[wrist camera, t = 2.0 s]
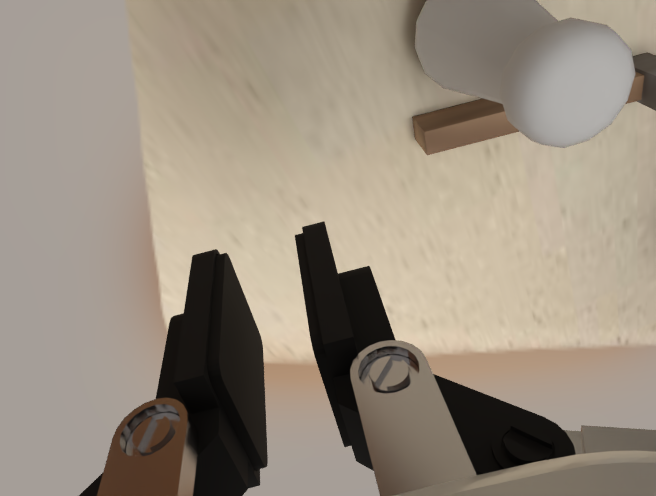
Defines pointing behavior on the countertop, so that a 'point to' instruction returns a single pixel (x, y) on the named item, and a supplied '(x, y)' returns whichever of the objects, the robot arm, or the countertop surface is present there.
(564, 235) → the countertop surface
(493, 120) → the chute
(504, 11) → the salt shaker
